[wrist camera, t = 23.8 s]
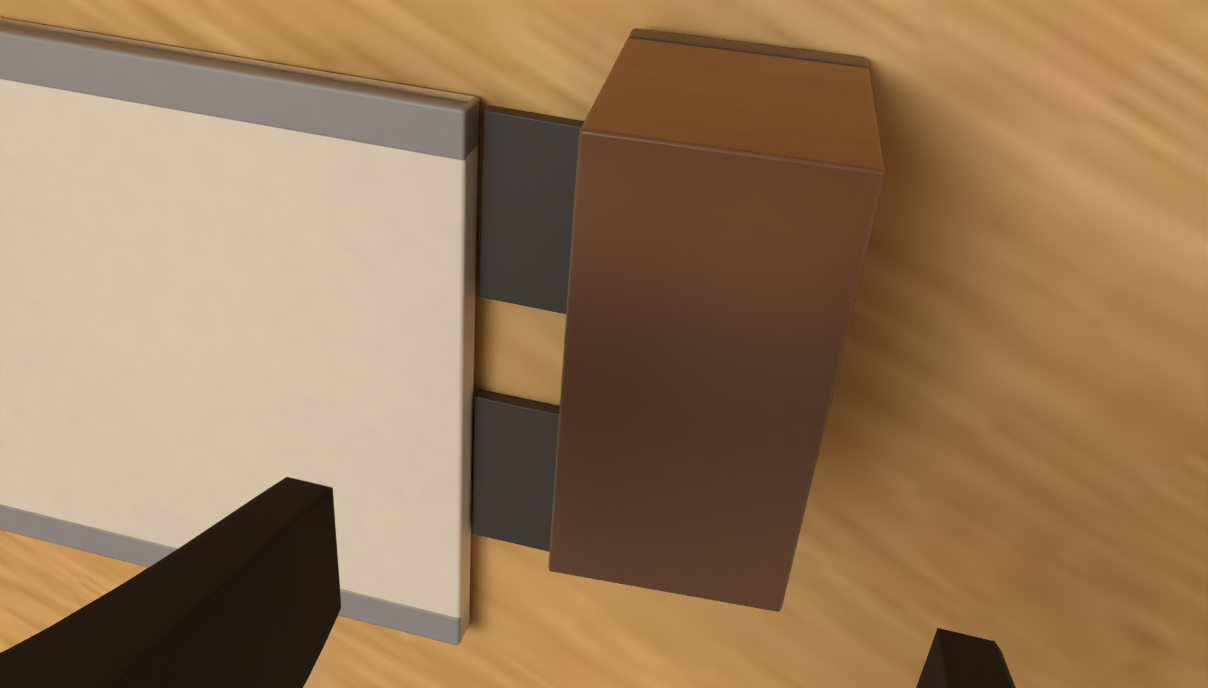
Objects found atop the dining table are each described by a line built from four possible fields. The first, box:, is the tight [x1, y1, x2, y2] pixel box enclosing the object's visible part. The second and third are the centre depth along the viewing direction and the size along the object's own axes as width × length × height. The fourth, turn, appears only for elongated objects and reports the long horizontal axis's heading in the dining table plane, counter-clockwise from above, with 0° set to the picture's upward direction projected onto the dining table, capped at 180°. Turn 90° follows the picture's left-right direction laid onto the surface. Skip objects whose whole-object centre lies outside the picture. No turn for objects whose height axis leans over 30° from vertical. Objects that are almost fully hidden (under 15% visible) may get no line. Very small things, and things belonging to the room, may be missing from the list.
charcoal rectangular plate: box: [472, 390, 560, 552], centre depth 24 cm, size 4×3×1 cm
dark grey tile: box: [479, 106, 584, 314], centre depth 21 cm, size 4×3×1 cm
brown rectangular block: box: [549, 29, 885, 612], centre depth 18 cm, size 8×4×5 cm, turn 175°
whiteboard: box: [0, 18, 479, 645], centre depth 25 cm, size 14×20×1 cm
